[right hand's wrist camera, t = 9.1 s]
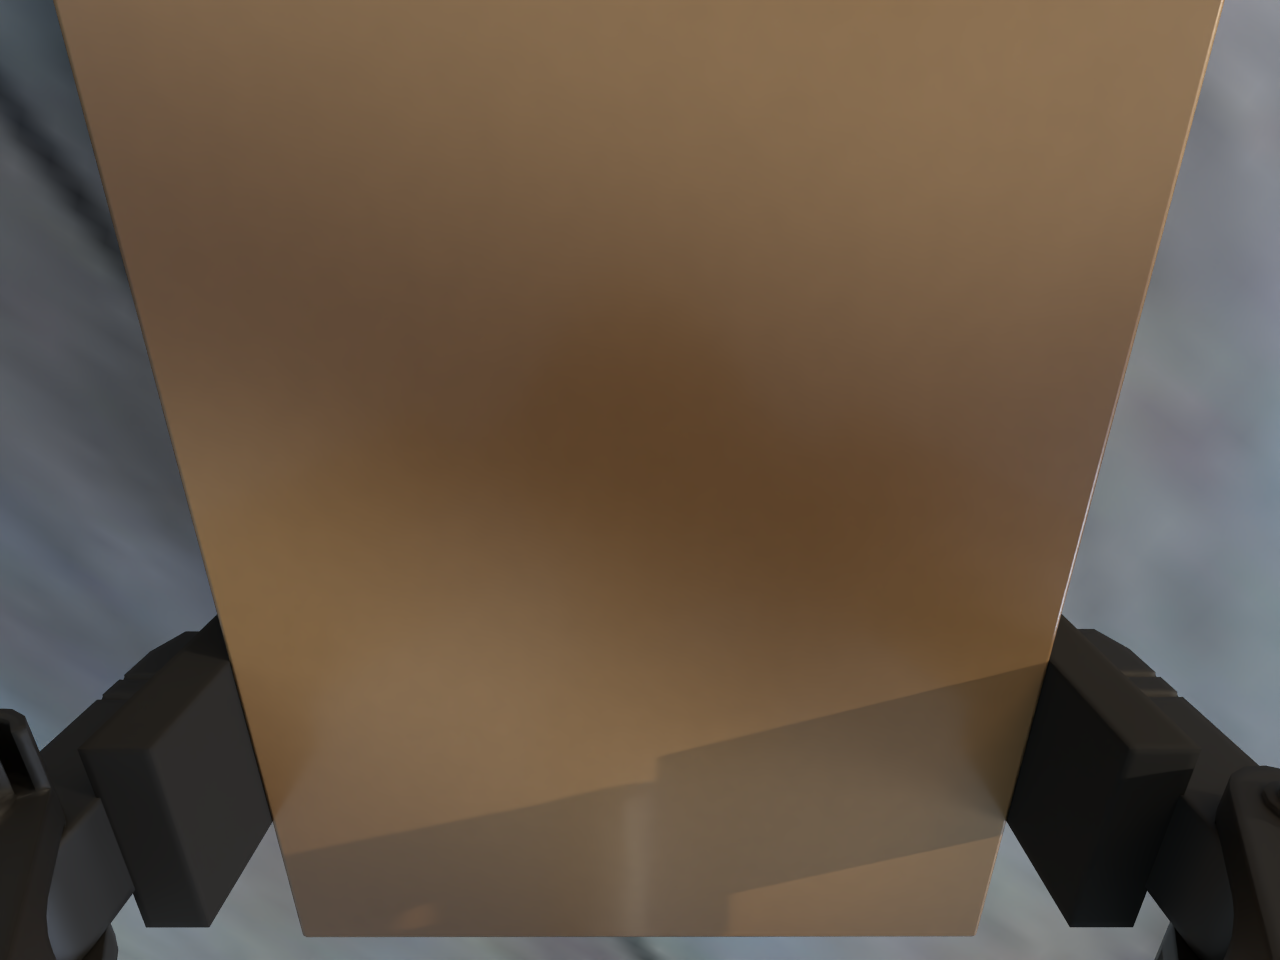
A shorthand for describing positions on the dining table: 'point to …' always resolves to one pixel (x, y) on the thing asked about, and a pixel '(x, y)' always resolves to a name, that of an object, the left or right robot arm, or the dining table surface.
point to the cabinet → (639, 426)
